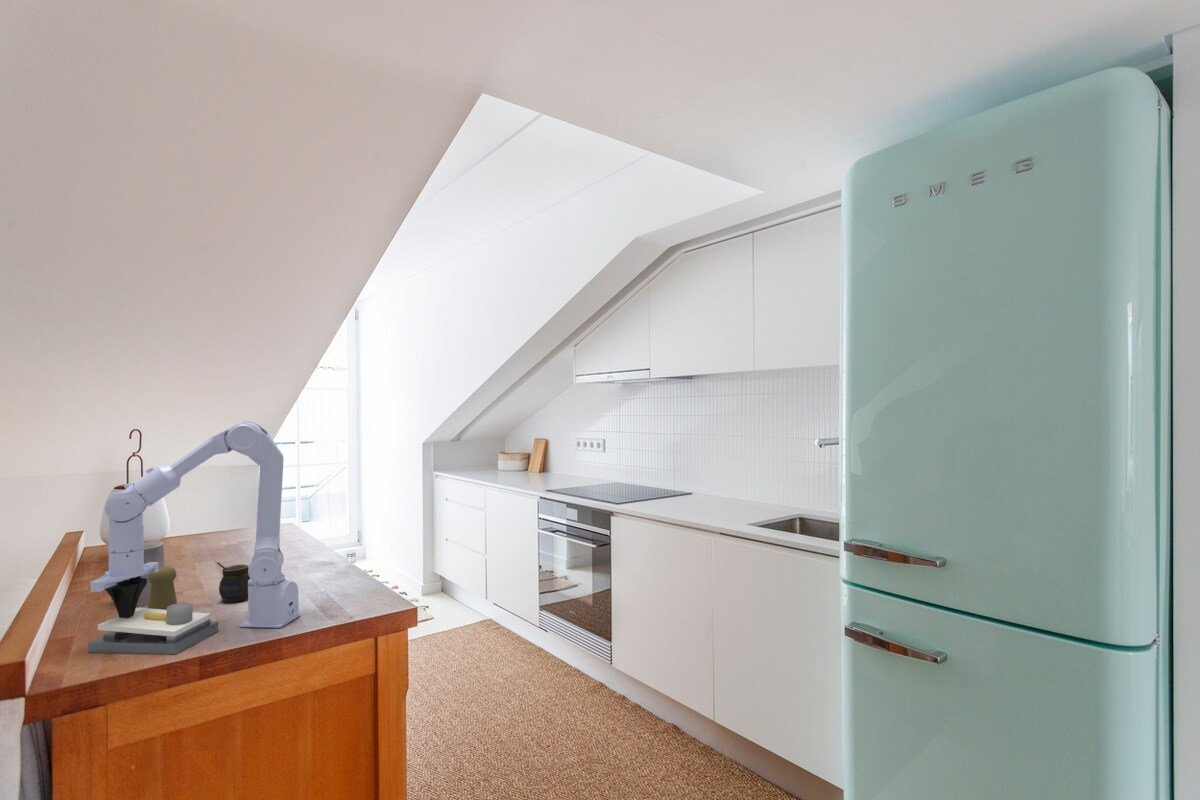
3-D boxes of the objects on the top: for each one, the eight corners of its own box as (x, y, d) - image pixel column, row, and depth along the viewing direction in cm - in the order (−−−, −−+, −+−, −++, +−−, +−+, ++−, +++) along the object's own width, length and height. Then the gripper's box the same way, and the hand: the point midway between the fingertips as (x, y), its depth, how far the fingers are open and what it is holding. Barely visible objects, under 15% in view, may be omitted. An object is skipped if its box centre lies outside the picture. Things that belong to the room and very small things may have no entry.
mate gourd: (259, 598, 155) (258, 557, 154) (226, 607, 148) (225, 565, 148) (244, 593, 159) (243, 553, 159) (212, 601, 152) (211, 560, 152)
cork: (173, 610, 146) (173, 562, 146) (182, 615, 143) (182, 567, 143) (142, 617, 142) (141, 568, 142) (151, 623, 138) (150, 573, 138)
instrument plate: (210, 618, 132) (211, 599, 132) (174, 636, 122) (175, 616, 122) (138, 612, 133) (139, 593, 133) (97, 629, 123) (98, 609, 123)
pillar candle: (118, 599, 155) (116, 538, 155) (166, 592, 160) (164, 533, 160) (112, 610, 147) (111, 546, 146) (163, 603, 152) (162, 541, 152)
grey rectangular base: (218, 631, 133) (218, 616, 133) (175, 654, 121) (175, 638, 121) (138, 629, 134) (138, 615, 134) (88, 652, 122) (88, 636, 122)
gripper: (136, 541, 135) (137, 604, 135) (75, 558, 121) (75, 629, 121) (167, 542, 135) (167, 605, 135) (109, 559, 120) (109, 630, 120)
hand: (126, 616), depth 128 cm, fingers closed, pressing on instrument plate
